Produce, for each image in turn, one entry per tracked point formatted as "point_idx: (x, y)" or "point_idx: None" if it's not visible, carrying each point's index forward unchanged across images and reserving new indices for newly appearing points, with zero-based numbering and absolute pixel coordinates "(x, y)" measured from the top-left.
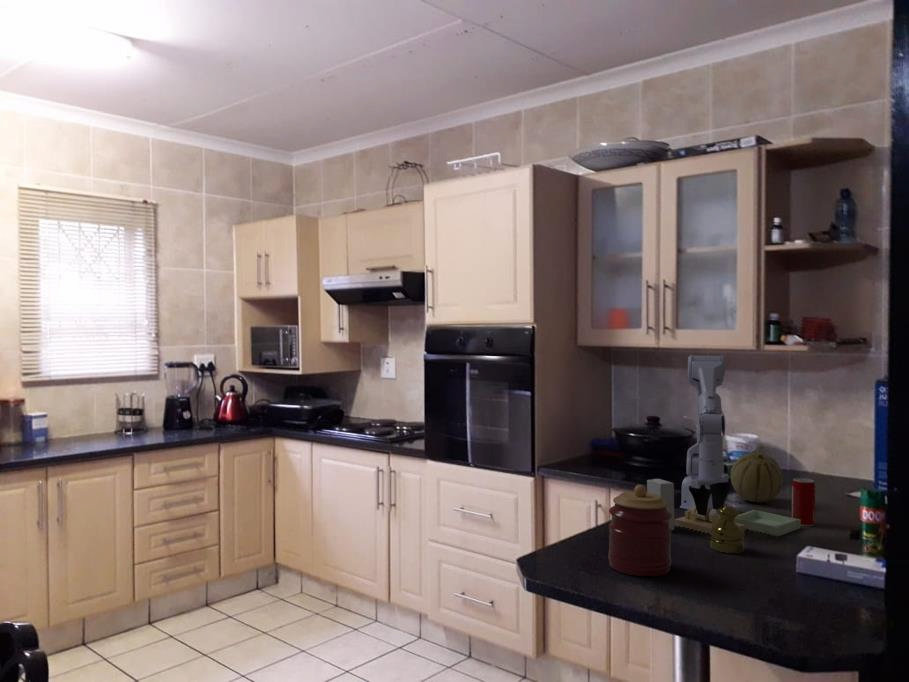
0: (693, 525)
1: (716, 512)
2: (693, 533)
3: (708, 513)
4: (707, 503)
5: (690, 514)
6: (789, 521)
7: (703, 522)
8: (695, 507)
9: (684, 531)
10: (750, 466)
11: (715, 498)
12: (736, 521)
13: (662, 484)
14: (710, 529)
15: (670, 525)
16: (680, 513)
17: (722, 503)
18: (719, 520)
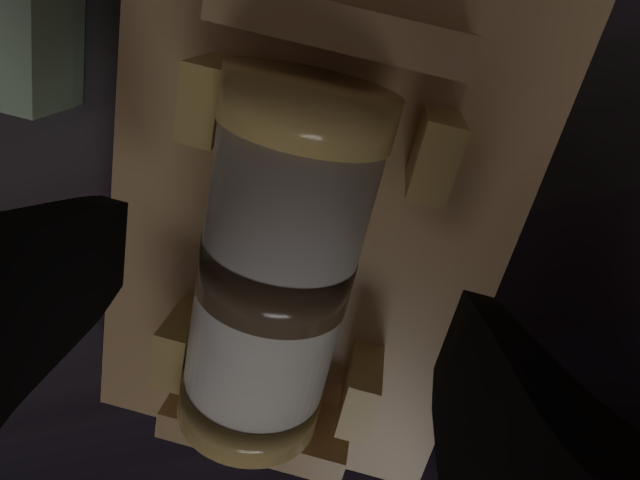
0: None
1: (339, 207)
2: (580, 285)
3: (343, 289)
4: (534, 371)
5: (367, 427)
6: None
7: (360, 283)
8: (279, 447)
9: (555, 356)
10: None
11: (28, 347)
12: (50, 26)
13: None
14: (542, 167)
15: None
16: (61, 477)
17: (64, 220)
18: (440, 121)
